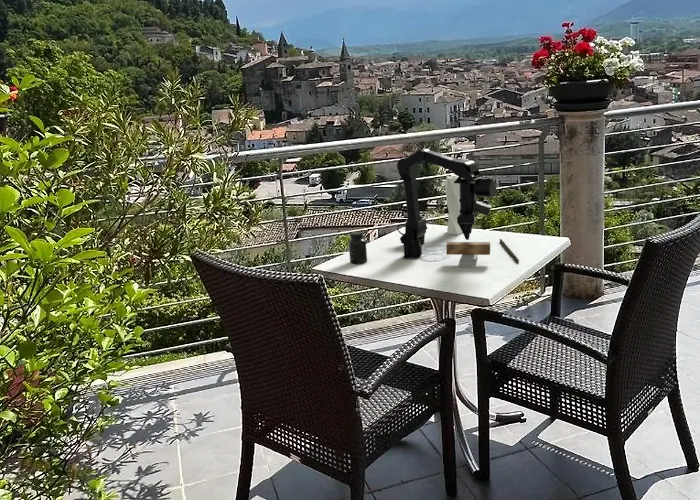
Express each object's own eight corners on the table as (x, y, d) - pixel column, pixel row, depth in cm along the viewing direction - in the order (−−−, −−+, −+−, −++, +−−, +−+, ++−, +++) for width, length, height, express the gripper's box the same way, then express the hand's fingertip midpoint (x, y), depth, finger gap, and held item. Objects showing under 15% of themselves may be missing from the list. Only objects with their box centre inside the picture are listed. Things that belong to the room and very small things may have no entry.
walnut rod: (446, 254, 256) (446, 244, 254) (447, 252, 259) (447, 241, 258) (489, 254, 251) (489, 244, 250) (490, 252, 255) (490, 242, 254)
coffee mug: (430, 241, 290) (429, 219, 288) (421, 247, 283) (420, 223, 281) (406, 239, 296) (405, 217, 294) (396, 244, 289) (395, 221, 287)
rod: (519, 264, 253) (519, 259, 252) (516, 264, 253) (516, 259, 252) (501, 243, 283) (501, 238, 282) (499, 243, 283) (499, 238, 282)
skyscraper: (468, 232, 303) (467, 170, 296) (459, 236, 297) (458, 173, 290) (451, 230, 308) (450, 169, 301) (442, 234, 302) (441, 172, 295)
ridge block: (459, 267, 252) (458, 257, 251) (461, 259, 262) (461, 249, 260) (475, 267, 251) (475, 257, 250) (477, 259, 260) (477, 249, 259)
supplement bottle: (358, 258, 272) (356, 229, 269) (370, 261, 267) (369, 232, 264) (346, 263, 268) (344, 233, 264) (358, 265, 263) (356, 235, 260)
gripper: (488, 200, 238) (488, 242, 242) (491, 190, 256) (492, 230, 260) (456, 200, 241) (457, 242, 245) (461, 190, 259) (462, 230, 263)
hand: (468, 236), depth 253 cm, fingers open, 9 cm apart
